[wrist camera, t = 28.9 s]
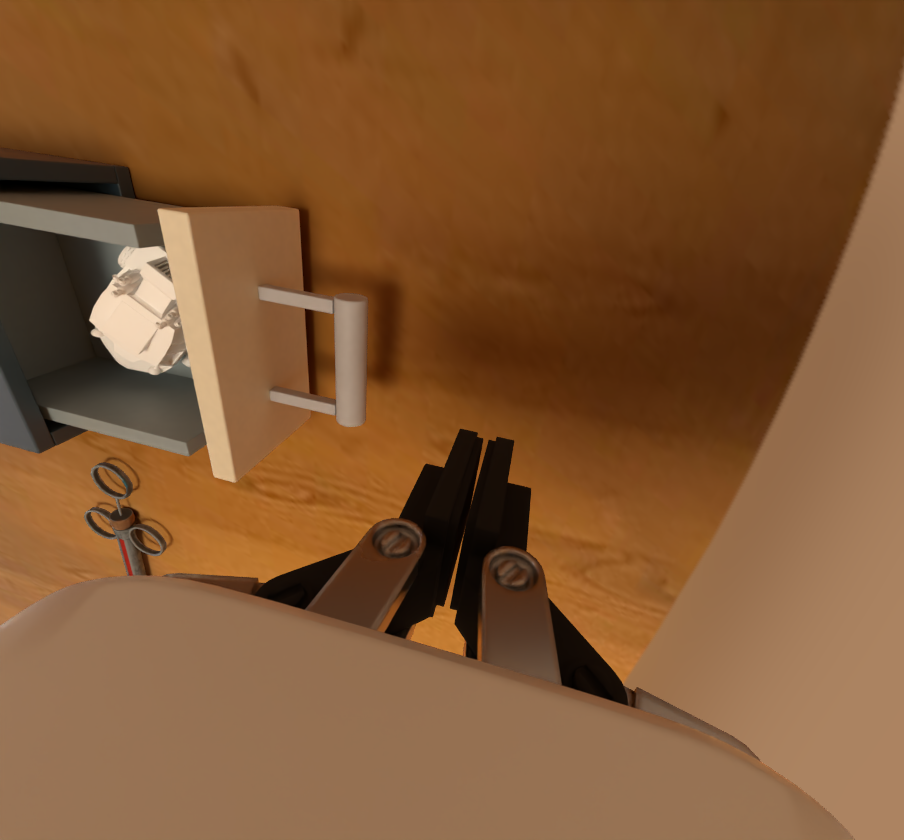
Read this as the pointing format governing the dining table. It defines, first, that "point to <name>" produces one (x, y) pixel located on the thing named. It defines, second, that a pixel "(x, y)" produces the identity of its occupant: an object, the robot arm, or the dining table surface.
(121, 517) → the syringe
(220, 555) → the dining table surface
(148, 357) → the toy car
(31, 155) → the cabinet
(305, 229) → the dining table surface
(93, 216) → the drawer
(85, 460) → the dining table surface
